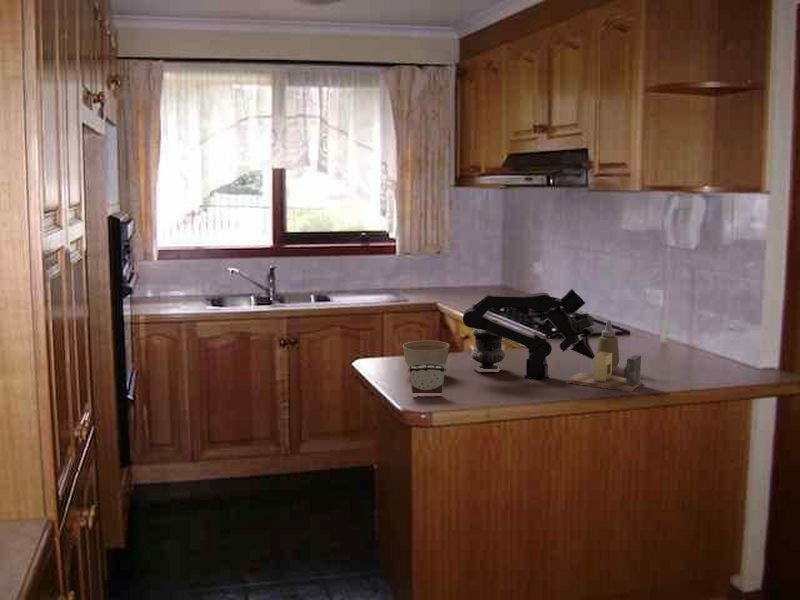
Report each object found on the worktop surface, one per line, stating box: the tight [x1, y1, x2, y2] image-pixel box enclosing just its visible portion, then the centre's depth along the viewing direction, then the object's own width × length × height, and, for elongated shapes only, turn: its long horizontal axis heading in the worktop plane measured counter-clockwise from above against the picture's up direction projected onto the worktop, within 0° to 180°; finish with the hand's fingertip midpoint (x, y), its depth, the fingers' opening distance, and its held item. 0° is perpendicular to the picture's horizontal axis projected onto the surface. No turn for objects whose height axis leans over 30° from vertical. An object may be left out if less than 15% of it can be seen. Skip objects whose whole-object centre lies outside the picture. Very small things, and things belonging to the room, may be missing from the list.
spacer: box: [593, 352, 613, 382], centre depth 288 cm, size 4×6×9 cm, turn 148°
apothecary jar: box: [470, 318, 506, 369], centre depth 307 cm, size 12×12×18 cm
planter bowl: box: [402, 340, 450, 368], centre depth 300 cm, size 16×16×11 cm
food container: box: [407, 362, 448, 394], centre depth 275 cm, size 12×6×10 cm, turn 92°
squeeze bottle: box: [596, 320, 620, 368], centre depth 304 cm, size 8×8×18 cm
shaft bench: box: [565, 354, 643, 392], centre depth 287 cm, size 22×12×10 cm, turn 58°
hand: (593, 358), depth 289 cm, fingers closed
